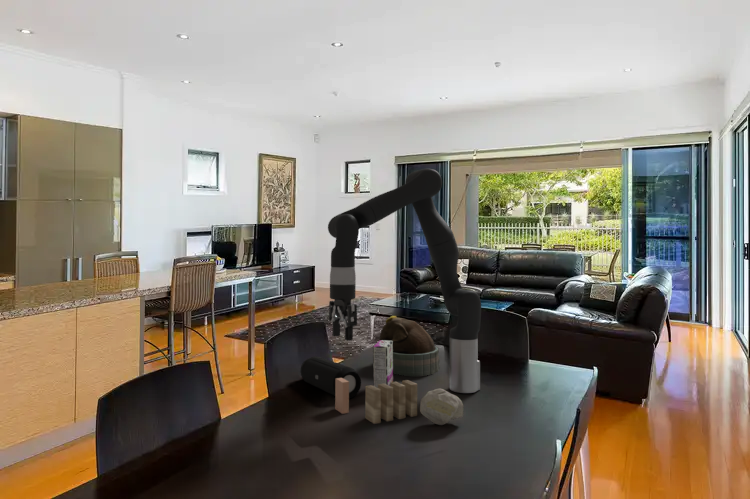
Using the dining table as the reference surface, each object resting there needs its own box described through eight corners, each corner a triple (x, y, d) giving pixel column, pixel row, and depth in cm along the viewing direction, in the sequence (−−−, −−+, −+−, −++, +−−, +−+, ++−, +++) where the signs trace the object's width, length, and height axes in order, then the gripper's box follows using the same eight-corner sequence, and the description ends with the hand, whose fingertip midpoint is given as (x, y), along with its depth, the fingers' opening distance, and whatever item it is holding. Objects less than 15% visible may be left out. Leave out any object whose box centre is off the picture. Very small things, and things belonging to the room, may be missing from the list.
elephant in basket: (372, 367, 197) (372, 313, 197) (432, 366, 200) (432, 312, 200) (378, 382, 174) (378, 321, 174) (446, 380, 177) (447, 320, 177)
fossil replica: (458, 419, 135) (458, 383, 136) (469, 430, 127) (469, 391, 127) (416, 421, 133) (416, 385, 133) (424, 432, 125) (425, 393, 125)
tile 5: (341, 407, 145) (341, 377, 145) (348, 412, 141) (348, 381, 141) (335, 408, 144) (335, 378, 144) (342, 413, 140) (342, 382, 140)
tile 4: (371, 417, 137) (371, 385, 137) (380, 422, 133) (380, 389, 133) (365, 418, 136) (365, 386, 136) (374, 423, 132) (374, 390, 132)
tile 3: (384, 415, 139) (384, 383, 139) (393, 420, 135) (393, 387, 135) (377, 416, 138) (377, 384, 138) (386, 421, 134) (386, 388, 134)
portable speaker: (298, 385, 170) (298, 356, 170) (322, 381, 176) (322, 353, 176) (337, 403, 150) (337, 371, 150) (363, 398, 156) (363, 366, 156)
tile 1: (407, 410, 143) (407, 379, 143) (417, 415, 139) (417, 383, 139) (401, 411, 142) (401, 380, 142) (411, 416, 138) (411, 384, 138)
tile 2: (395, 412, 141) (396, 381, 141) (405, 417, 137) (405, 385, 137) (390, 413, 140) (390, 382, 140) (399, 419, 136) (399, 386, 136)
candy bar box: (379, 387, 167) (379, 339, 168) (393, 388, 166) (393, 340, 167) (372, 397, 156) (372, 345, 157) (387, 398, 155) (387, 346, 156)
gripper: (365, 283, 138) (365, 341, 138) (343, 281, 151) (343, 333, 151) (341, 284, 135) (341, 343, 135) (321, 281, 147) (320, 335, 147)
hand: (342, 338), depth 143 cm, fingers open, 8 cm apart
